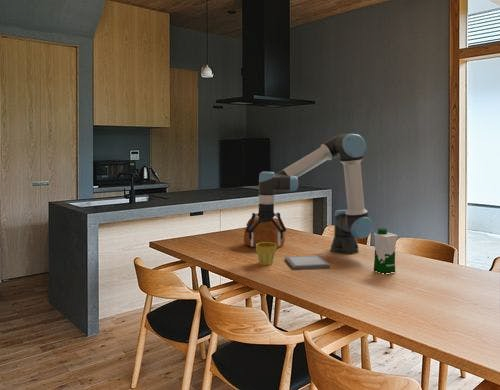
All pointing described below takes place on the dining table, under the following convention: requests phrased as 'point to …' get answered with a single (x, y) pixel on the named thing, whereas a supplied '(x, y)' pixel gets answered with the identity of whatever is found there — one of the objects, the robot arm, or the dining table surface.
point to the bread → (264, 233)
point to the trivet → (307, 262)
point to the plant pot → (266, 252)
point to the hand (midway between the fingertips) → (265, 245)
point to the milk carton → (384, 251)
